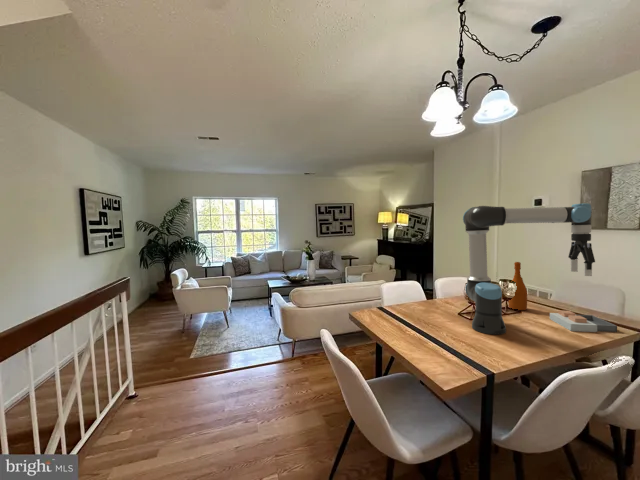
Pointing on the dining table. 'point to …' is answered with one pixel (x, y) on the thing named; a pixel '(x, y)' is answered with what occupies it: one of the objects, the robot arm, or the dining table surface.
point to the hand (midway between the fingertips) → (580, 273)
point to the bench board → (573, 323)
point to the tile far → (566, 313)
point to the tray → (601, 323)
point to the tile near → (577, 319)
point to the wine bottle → (519, 291)
